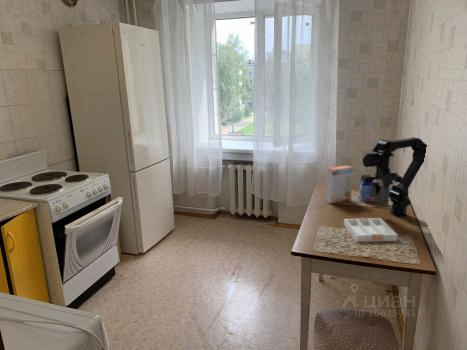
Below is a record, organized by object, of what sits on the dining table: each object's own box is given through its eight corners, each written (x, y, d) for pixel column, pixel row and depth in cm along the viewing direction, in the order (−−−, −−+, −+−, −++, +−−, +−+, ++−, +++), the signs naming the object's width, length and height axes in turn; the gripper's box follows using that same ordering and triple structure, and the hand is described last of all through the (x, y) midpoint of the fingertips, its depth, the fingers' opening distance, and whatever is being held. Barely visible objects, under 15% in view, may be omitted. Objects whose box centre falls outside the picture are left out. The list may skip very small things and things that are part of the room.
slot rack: (379, 223, 171) (380, 217, 170) (397, 241, 153) (398, 234, 152) (343, 224, 171) (344, 218, 170) (356, 241, 153) (357, 235, 152)
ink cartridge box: (361, 202, 201) (363, 178, 197) (358, 198, 206) (360, 176, 202) (378, 201, 201) (380, 178, 197) (374, 198, 206) (376, 175, 202)
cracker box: (344, 197, 208) (347, 164, 203) (351, 201, 203) (353, 167, 197) (325, 200, 204) (326, 167, 198) (330, 204, 199) (332, 169, 193)
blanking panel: (376, 194, 182) (378, 180, 180) (388, 203, 169) (389, 188, 167) (371, 194, 182) (372, 180, 180) (382, 203, 169) (383, 188, 167)
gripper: (370, 169, 163) (367, 200, 167) (409, 168, 163) (405, 199, 167) (362, 164, 174) (359, 192, 178) (398, 163, 174) (395, 192, 178)
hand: (379, 194), depth 175 cm, fingers closed on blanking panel, 3 cm apart
